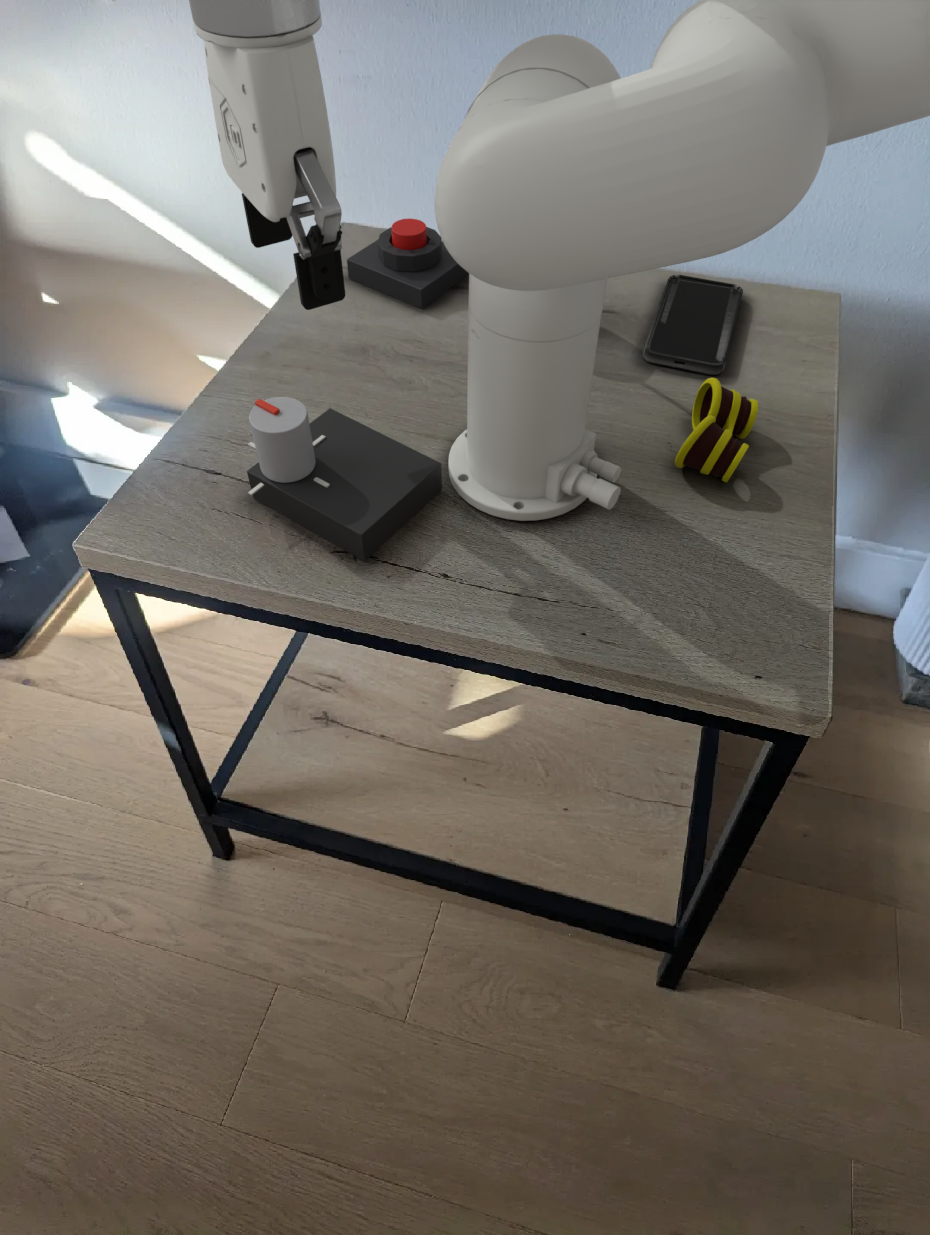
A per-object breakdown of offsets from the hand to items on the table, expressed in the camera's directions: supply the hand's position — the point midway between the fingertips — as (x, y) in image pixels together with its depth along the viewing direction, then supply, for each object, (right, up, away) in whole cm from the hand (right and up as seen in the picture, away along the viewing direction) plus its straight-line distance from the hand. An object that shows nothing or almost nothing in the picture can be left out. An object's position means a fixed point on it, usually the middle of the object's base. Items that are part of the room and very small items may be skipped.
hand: (297, 271), depth 64 cm
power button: (+7, +13, +26) cm, 30 cm away
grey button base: (+7, +11, +29) cm, 32 cm away
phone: (+35, +3, +23) cm, 42 cm away
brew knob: (-2, -13, +5) cm, 14 cm away
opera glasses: (+34, -11, +12) cm, 38 cm away
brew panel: (+1, -16, +8) cm, 17 cm away
